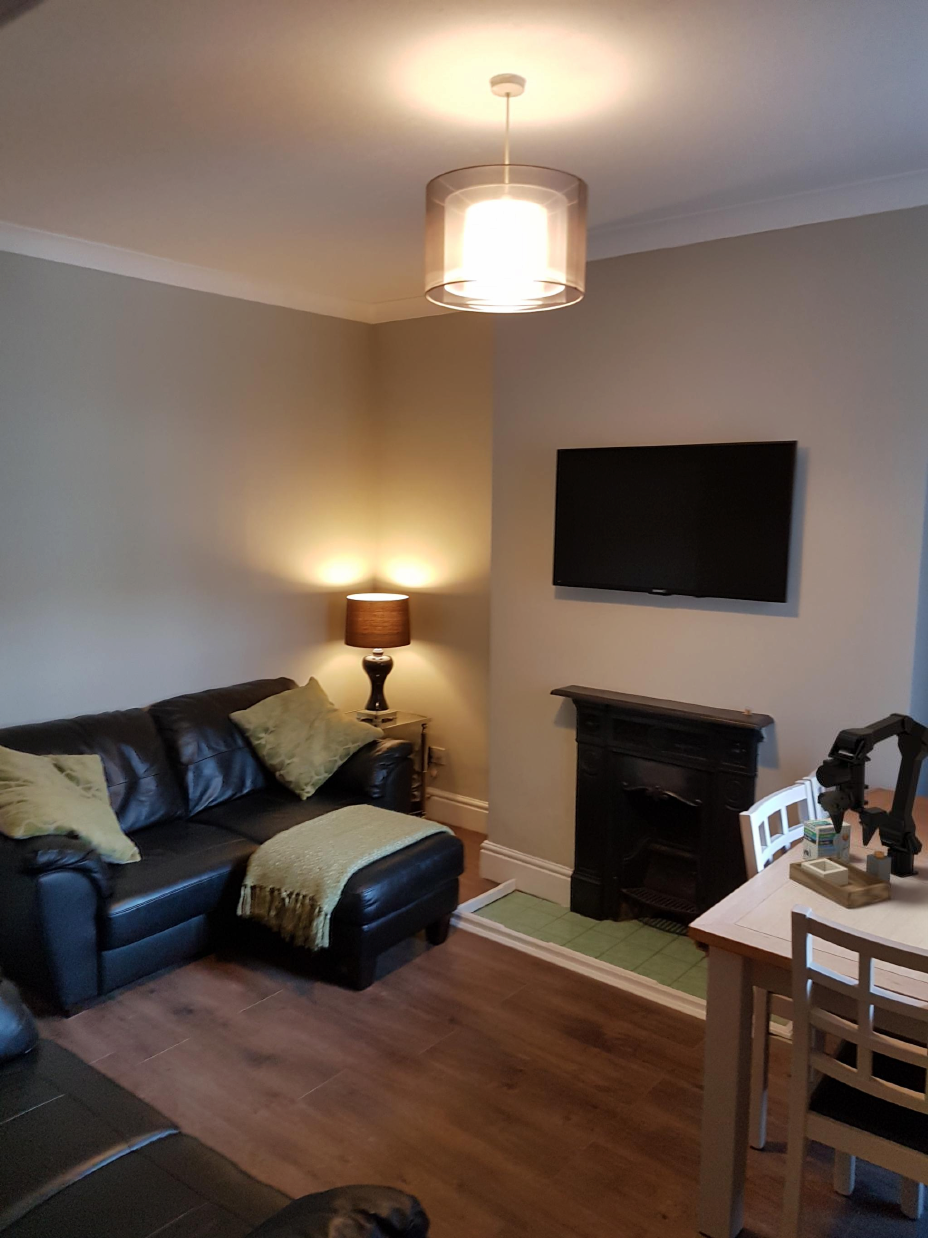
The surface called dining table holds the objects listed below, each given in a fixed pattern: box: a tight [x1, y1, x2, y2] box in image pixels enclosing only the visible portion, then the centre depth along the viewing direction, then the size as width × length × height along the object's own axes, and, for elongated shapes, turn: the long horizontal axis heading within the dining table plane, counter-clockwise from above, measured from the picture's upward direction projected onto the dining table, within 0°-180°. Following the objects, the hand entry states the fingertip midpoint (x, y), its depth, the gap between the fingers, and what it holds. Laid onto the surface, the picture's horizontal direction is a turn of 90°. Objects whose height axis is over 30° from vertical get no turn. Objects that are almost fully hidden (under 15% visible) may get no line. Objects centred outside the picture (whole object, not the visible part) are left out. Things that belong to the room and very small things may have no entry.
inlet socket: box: [801, 858, 848, 886], centre depth 236 cm, size 8×8×4 cm
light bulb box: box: [802, 817, 852, 864], centre depth 251 cm, size 11×7×11 cm, turn 105°
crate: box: [788, 856, 892, 909], centre depth 233 cm, size 14×20×4 cm
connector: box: [865, 850, 892, 883], centre depth 233 cm, size 4×4×9 cm
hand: (851, 839), depth 232 cm, fingers open, 9 cm apart
